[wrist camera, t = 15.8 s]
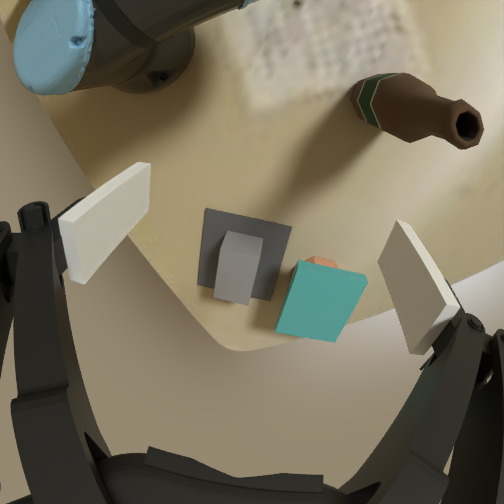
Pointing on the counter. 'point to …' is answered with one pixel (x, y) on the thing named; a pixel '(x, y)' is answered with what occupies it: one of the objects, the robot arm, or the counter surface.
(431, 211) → the counter surface
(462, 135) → the beer bottle
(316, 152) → the counter surface
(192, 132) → the counter surface
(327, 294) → the board
